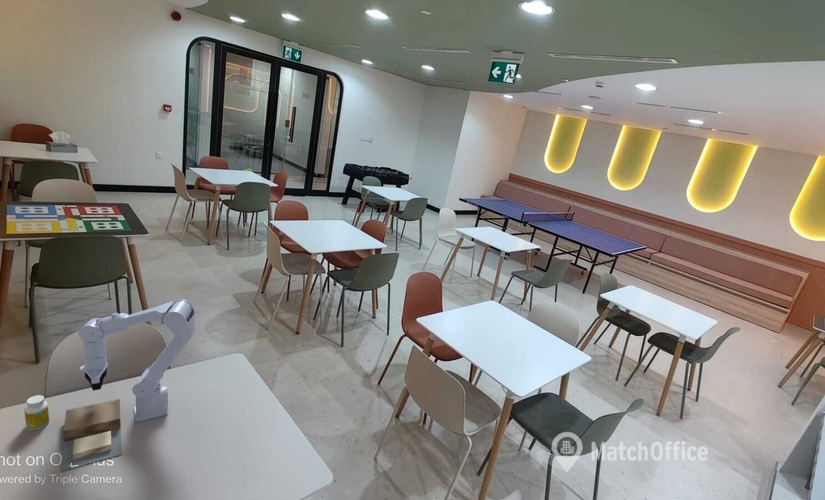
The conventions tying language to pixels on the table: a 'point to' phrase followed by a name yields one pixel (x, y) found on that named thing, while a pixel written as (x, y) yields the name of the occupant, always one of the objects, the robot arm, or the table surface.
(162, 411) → the robot arm
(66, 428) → the walnut deck
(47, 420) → the supplement bottle
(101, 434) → the birch tile
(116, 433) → the slate mat
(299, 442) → the table surface
